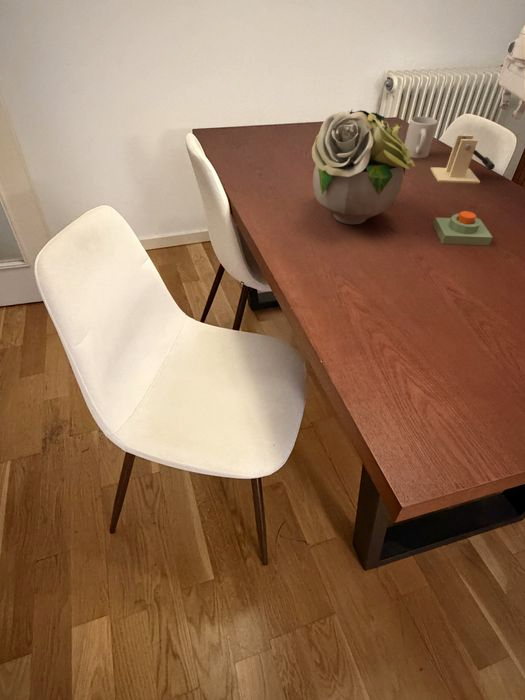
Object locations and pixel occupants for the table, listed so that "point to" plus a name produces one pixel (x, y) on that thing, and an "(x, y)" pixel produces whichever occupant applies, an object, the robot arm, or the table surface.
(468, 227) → the control block
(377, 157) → the flower arrangement
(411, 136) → the mug
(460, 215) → the button
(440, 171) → the beige bracket stand
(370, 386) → the table surface
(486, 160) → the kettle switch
